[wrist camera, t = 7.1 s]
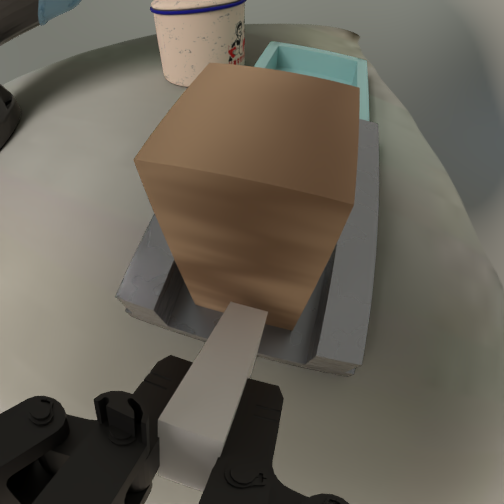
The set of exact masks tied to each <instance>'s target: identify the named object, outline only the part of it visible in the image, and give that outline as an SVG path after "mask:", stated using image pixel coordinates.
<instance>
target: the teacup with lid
mask: <svg viewBox="0 0 504 504" xmlns="http://www.w3.org/2000/svg"><path fill="white" fill-rule="evenodd" d="M245 1H246V0H153V2H152V3H151V7H150V10H151V12H153V13H154V20H155V25H156V32H157V38H158V44H159V50H160V56H161V61H162V67H163V72H164V76H165V78H166V79H167V80H168V81H169V82H171V83H173V84H175V85H179V86H184V87H189V86H190V84H191V83H192V82H193V81H194V80H195V79H196V77H197V76H198V75H199V74H200V73H201V72H202V71H203V69H204V68H205V67H206V66H207V65H208V64H209V63H222V64H234V65H243V66H245V19H244V18H245V16H244V15H245V10H244V9H245V7H244V6H245V4H244V3H245Z"/></svg>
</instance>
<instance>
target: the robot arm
mask: <svg viewBox="0 0 504 504" xmlns="http://www.w3.org/2000/svg"><path fill="white" fill-rule="evenodd" d="M80 2H81V0H0V46H1V45H3V44H4V43H6V42H8V41H10V40H11V39H13V38H15V37H17V36H19V35H21V34H23V33H25V32H27V31H29V30H31V29H33V28H35V27H37V26H39V25H41V26H42V25H44V24H46V23H47V22H48V21H49V20H51V19H53V18H55V17H57V16H58V15H61V14H63V13H65V12H67V11H70V10H72V9H73V8H75V7H76V6H77V5H78V4H79V3H80ZM20 117H21V109H20V107H19V105H18V103H17V101H16V99H15V97H14V96H13V95H12V94H11V93H10V92H9V91H8V90H7V89H6V88H4V87H3V86H2V85H1V84H0V149H1V147H2V146H3V145H4V144H5V142H6V141H7V140H8V138H9V137H10V136H11V134H12V133H13V131H14V129H15V128H16V126H17V124H18V122H19V120H20ZM267 314H268V312H267V311H263V310H260V309H256V308H252V307H248V306H245V305H241V304H237V303H234V302H230V304H229V305H228V307H227V308H226V310H225V312H224V313H223V315H222V317H221V318H220V320H219V322H218V323H217V325H216V326H215V328H214V330H213V331H212V333H211V335H210V336H209V338H208V339H207V341H206V343H205V344H204V346H203V348H202V349H201V351H200V352H199V354H198V356H197V357H196V359H195V361H194V362H190V361H187V360H184V359H181V358H178V357H175V356H172V355H170V356H168V357H166V358H164V359H162V360H160V361H158V363H157V364H156V365H155V366H154V368H153V369H152V370H151V372H150V373H149V374H148V375H147V377H146V378H145V379H144V382H142V383H141V384H140V386H139V387H138V388H137V389H136V391H135V392H134V393H133V394H130V393H127V392H123V391H110V392H106V393H103V394H100V395H99V396H98V397H96V398H95V399H94V404H95V410H96V415H97V420H88V419H84V418H79V417H75V416H71V415H67V414H66V413H65V410H64V408H63V407H62V405H61V404H60V403H59V402H58V401H56V400H55V399H53V398H50V397H46V396H35V397H32V398H29V399H27V400H25V401H23V402H21V403H19V404H18V405H16V406H14V407H12V408H10V409H8V410H7V411H5V412H3V413H1V414H0V504H144V503H145V501H146V499H147V498H148V496H149V494H150V492H151V488H152V479H153V478H154V476H155V474H156V472H157V470H158V474H159V476H160V477H163V478H165V479H168V480H171V481H173V482H176V483H179V484H182V485H184V486H187V487H190V488H193V489H196V490H199V491H203V494H202V496H201V499H200V502H199V504H349V503H348V502H346V501H345V500H344V499H343V498H340V497H338V496H335V495H333V494H318V495H314V496H311V497H306V496H304V495H302V494H300V493H297V492H295V491H293V490H291V489H289V488H288V487H286V486H284V485H283V484H282V483H281V482H280V481H279V480H278V479H277V477H276V475H275V474H274V471H273V468H272V460H273V455H274V450H275V444H276V439H277V433H278V428H279V422H280V416H281V411H282V405H283V399H284V398H283V396H282V393H281V391H280V388H279V386H276V385H272V384H268V383H264V382H260V381H256V380H253V379H250V376H251V373H252V370H253V367H254V363H255V360H256V356H257V352H258V348H259V345H260V341H261V337H262V333H263V330H264V326H265V322H266V318H267Z"/></svg>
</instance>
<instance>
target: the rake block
mask: <svg viewBox="0 0 504 504" xmlns="http://www.w3.org/2000/svg"><path fill="white" fill-rule="evenodd" d="M359 111H360V88H359V87H355V86H352V85H348V84H344V83H340V82H336V81H331V80H327V79H322V78H318V77H313V76H308V75H303V74H298V73H292V72H286V71H280V70H274V69H267V68H260V67H252V66H243V65H234V64H222V63H209V64H208V65H207V66H206V67H205V68H204V69H203V71H202V72H201V73H200V74H199V75H198V76H197V77H196V79H195V80H194V81H193V82H192V83H191V84H190V86H189V87H188V88H187V89H186V90H185V92H184V93H183V94H182V95H181V97H180V98H179V99H178V100H177V101H176V103H175V104H174V105H173V106H172V108H171V109H170V110H169V112H168V113H167V114H166V115H165V117H164V118H163V119H162V121H161V122H160V123H159V125H158V126H157V127H156V129H155V130H154V131H153V133H152V134H151V135H150V137H149V138H148V140H147V141H146V142H145V144H144V145H143V147H142V148H141V150H140V151H139V152H138V154H137V155H136V157H135V158H134V162H135V165H136V168H137V170H138V173H139V175H140V178H141V181H142V183H143V186H144V188H145V191H146V193H147V196H148V198H149V201H150V203H151V206H152V208H153V211H154V213H155V215H156V218H157V220H158V223H159V225H160V227H161V230H162V232H163V234H164V237H165V239H166V241H167V244H168V246H169V248H170V251H171V253H172V255H173V257H174V260H175V262H176V264H177V266H178V268H179V271H180V273H181V275H182V277H183V279H184V282H185V284H186V286H187V288H188V290H189V292H190V294H191V297H192V299H193V301H194V303H195V305H198V306H202V307H205V308H209V309H212V310H216V311H219V312H223V313H224V312H225V310H226V308H227V307H228V305H229V304H230V302H234V303H237V304H241V305H245V306H248V307H252V308H256V309H260V310H263V311H267V312H268V314H267V318H266V322H265V324H267V325H271V326H275V327H279V328H283V329H287V330H291V331H293V329H294V327H295V325H296V323H297V321H298V319H299V318H300V316H301V314H302V312H303V310H304V308H305V306H306V304H307V302H308V300H309V298H310V296H311V294H312V292H313V290H314V288H315V286H316V284H317V282H318V280H319V278H320V276H321V274H322V272H323V270H324V268H325V266H326V264H327V262H328V260H329V258H330V256H331V254H332V252H333V250H334V248H335V245H336V243H337V241H338V239H339V237H340V235H341V233H342V230H343V228H344V226H345V224H346V222H347V219H348V217H349V215H350V213H351V211H352V208H353V206H354V200H355V188H356V175H357V160H358V141H359Z"/></svg>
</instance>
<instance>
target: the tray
mask: <svg viewBox="0 0 504 504" xmlns="http://www.w3.org/2000/svg"><path fill="white" fill-rule="evenodd" d="M254 67H260V68H267V69H274V70H280V71H286V72H292V73H298V74H303V75H308V76H313V77H318V78H322V79H327V80H331V81H336V82H340V83H344V84H348V85H352V86H355V87H359V88H360V111H359V119H363V120H366V121H369V91H368V72H367V60H363V59H359V58H356V57H352V56H348V55H344V54H339V53H335V52H331V51H326V50H321V49H316V48H311V47H306V46H300V45H294V44H288V43H281V42H273V41H271V42H270V43H269V45H268V46H267V47H266V49H265V50H264V52H263V53H262V55H261V56H260V58H259V59H258V61H257V62H256V64H255V65H254Z"/></svg>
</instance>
